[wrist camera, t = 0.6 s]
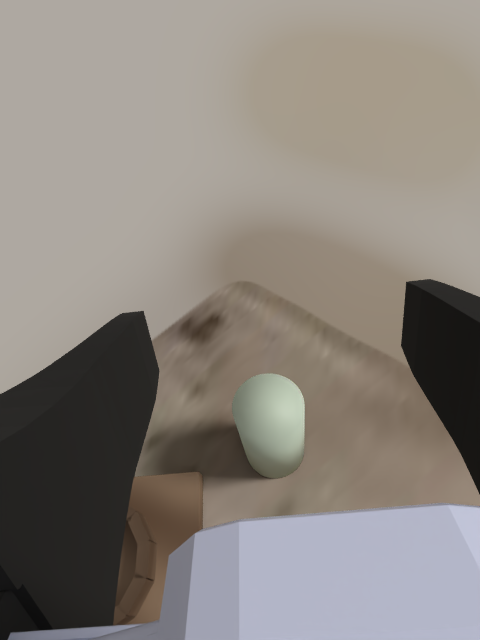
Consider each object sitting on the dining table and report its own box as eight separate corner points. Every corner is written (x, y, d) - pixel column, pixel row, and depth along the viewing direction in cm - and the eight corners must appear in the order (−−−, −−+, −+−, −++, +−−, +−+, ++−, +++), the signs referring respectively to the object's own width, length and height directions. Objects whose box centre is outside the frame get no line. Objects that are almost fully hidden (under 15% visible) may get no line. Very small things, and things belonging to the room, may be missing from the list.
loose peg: (308, 475, 28) (309, 437, 22) (247, 480, 28) (233, 443, 22) (300, 418, 30) (299, 370, 24) (244, 423, 30) (230, 377, 25)
